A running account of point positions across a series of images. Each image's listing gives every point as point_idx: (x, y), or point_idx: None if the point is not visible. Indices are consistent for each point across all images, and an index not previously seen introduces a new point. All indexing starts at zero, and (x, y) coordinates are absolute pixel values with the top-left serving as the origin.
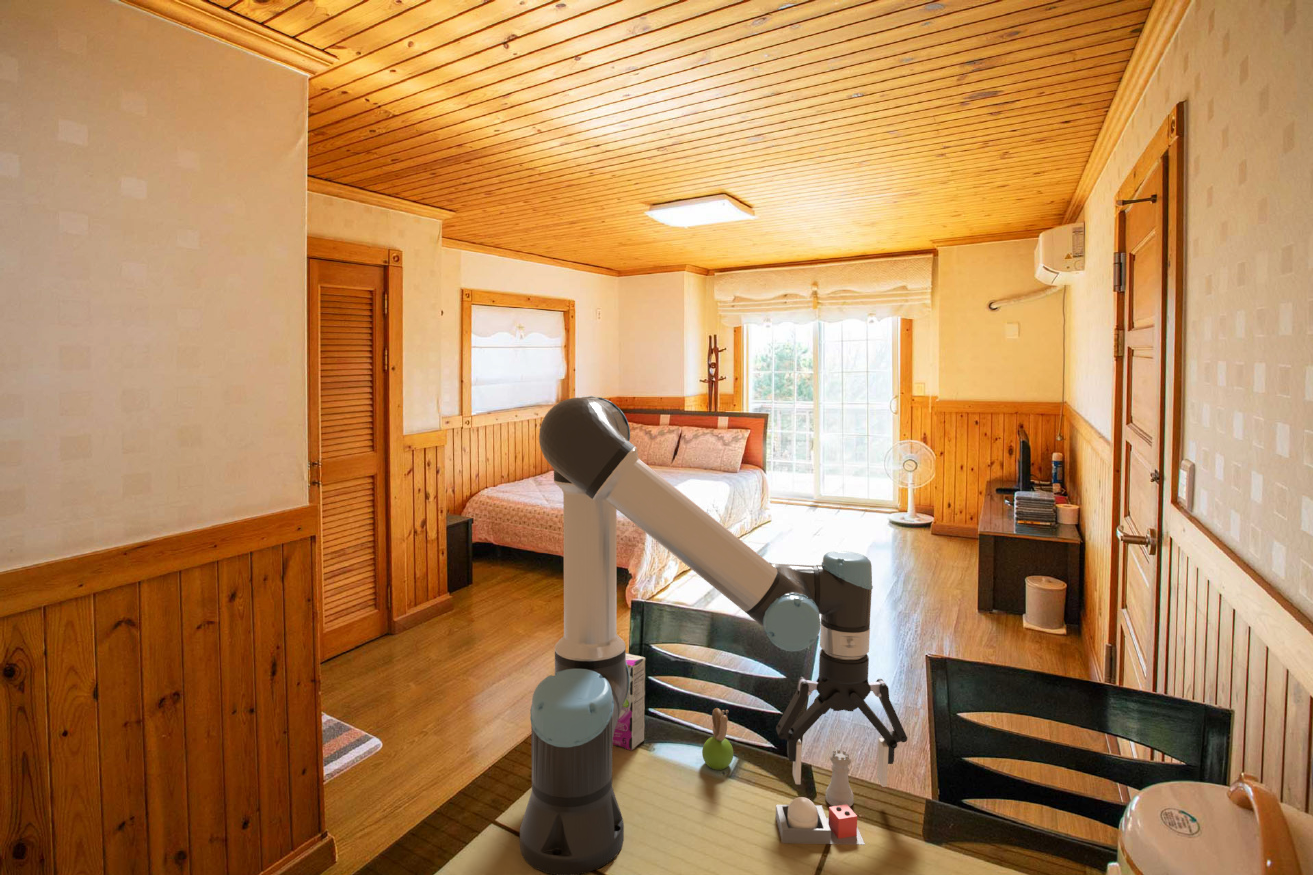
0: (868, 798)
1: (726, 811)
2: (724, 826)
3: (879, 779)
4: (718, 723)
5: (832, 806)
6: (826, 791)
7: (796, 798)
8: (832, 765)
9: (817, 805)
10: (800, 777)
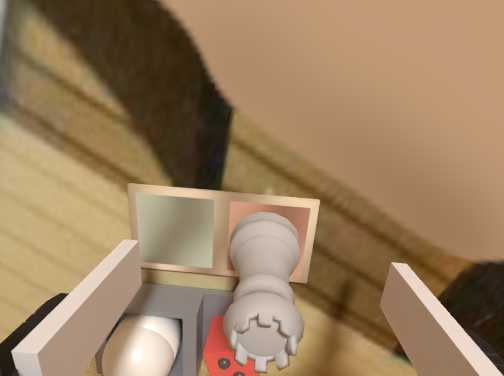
0: (347, 221)
1: (5, 245)
2: (8, 288)
3: (388, 287)
4: None
5: (212, 351)
6: (230, 248)
7: (110, 373)
8: (239, 290)
9: (186, 314)
10: (131, 299)
